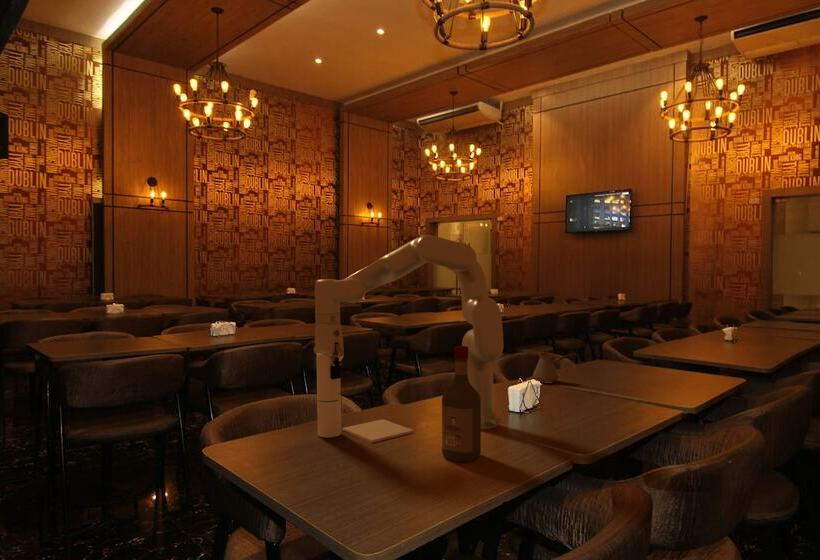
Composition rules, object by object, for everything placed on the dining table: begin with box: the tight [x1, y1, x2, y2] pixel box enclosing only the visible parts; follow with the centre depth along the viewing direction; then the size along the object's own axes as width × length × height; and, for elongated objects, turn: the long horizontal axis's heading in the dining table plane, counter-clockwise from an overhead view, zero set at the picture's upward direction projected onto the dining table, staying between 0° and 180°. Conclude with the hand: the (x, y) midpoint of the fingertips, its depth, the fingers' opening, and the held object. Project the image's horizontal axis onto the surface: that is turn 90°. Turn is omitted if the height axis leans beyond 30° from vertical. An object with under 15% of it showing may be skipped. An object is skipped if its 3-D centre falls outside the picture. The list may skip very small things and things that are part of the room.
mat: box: [341, 418, 415, 444], centre depth 169 cm, size 16×16×1 cm
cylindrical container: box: [316, 353, 342, 438], centre depth 166 cm, size 7×7×25 cm
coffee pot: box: [532, 352, 579, 384], centre depth 242 cm, size 21×12×15 cm, turn 45°
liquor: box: [441, 345, 482, 464], centre depth 146 cm, size 9×9×30 cm
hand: (328, 376), depth 165 cm, fingers closed on cylindrical container, 7 cm apart
